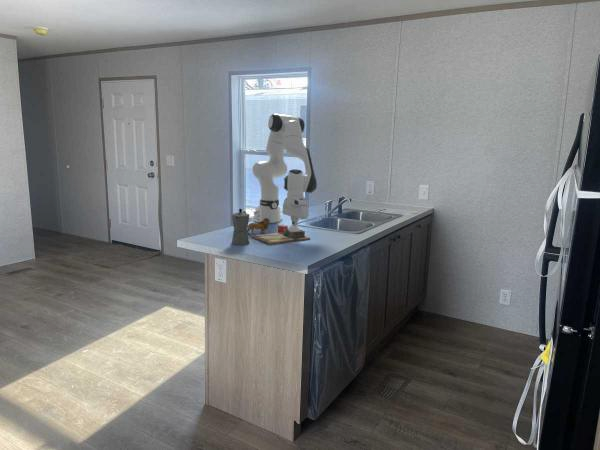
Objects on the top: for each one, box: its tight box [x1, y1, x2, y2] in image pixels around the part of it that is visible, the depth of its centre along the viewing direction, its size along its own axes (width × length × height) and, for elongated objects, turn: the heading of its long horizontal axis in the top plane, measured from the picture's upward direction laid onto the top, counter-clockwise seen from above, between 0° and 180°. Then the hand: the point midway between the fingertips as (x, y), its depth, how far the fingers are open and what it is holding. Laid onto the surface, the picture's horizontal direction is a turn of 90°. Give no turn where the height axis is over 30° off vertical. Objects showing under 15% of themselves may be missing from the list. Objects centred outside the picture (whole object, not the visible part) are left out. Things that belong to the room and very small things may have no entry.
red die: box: [277, 224, 289, 233], centre depth 255 cm, size 4×4×4 cm
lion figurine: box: [247, 218, 271, 236], centre depth 248 cm, size 15×5×9 cm, turn 117°
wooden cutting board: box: [250, 229, 311, 246], centre depth 240 cm, size 19×26×4 cm
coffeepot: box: [231, 208, 250, 246], centre depth 227 cm, size 15×9×18 cm, turn 171°
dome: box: [288, 224, 301, 232], centre depth 243 cm, size 6×6×6 cm
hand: (294, 224), depth 243 cm, fingers closed, pressing on dome
